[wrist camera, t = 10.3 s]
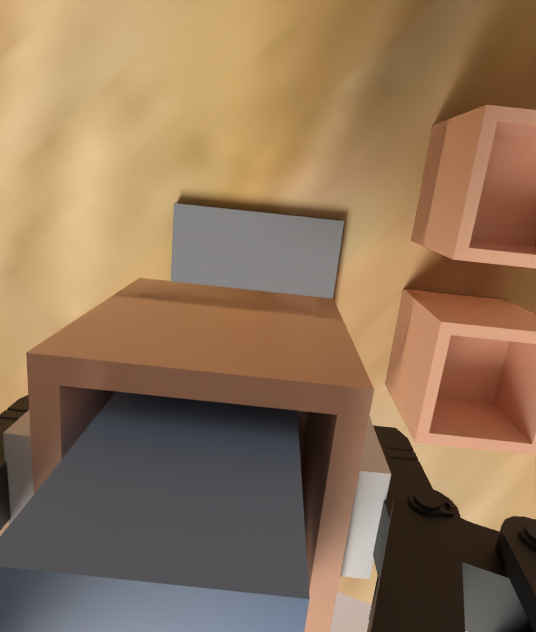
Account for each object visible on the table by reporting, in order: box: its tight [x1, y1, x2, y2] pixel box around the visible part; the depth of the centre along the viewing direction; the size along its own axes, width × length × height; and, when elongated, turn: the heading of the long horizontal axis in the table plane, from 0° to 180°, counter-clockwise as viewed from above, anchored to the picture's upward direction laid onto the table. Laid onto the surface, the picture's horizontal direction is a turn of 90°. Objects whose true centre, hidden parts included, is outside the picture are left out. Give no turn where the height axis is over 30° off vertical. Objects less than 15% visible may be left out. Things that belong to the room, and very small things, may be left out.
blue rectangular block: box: [0, 391, 310, 632], centre depth 10 cm, size 4×4×8 cm
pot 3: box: [385, 289, 536, 455], centre depth 26 cm, size 6×6×7 cm
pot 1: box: [26, 278, 374, 632], centre depth 13 cm, size 6×6×7 cm
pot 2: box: [411, 105, 536, 268], centre depth 23 cm, size 6×6×7 cm
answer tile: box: [171, 203, 344, 298], centre depth 28 cm, size 10×10×1 cm
